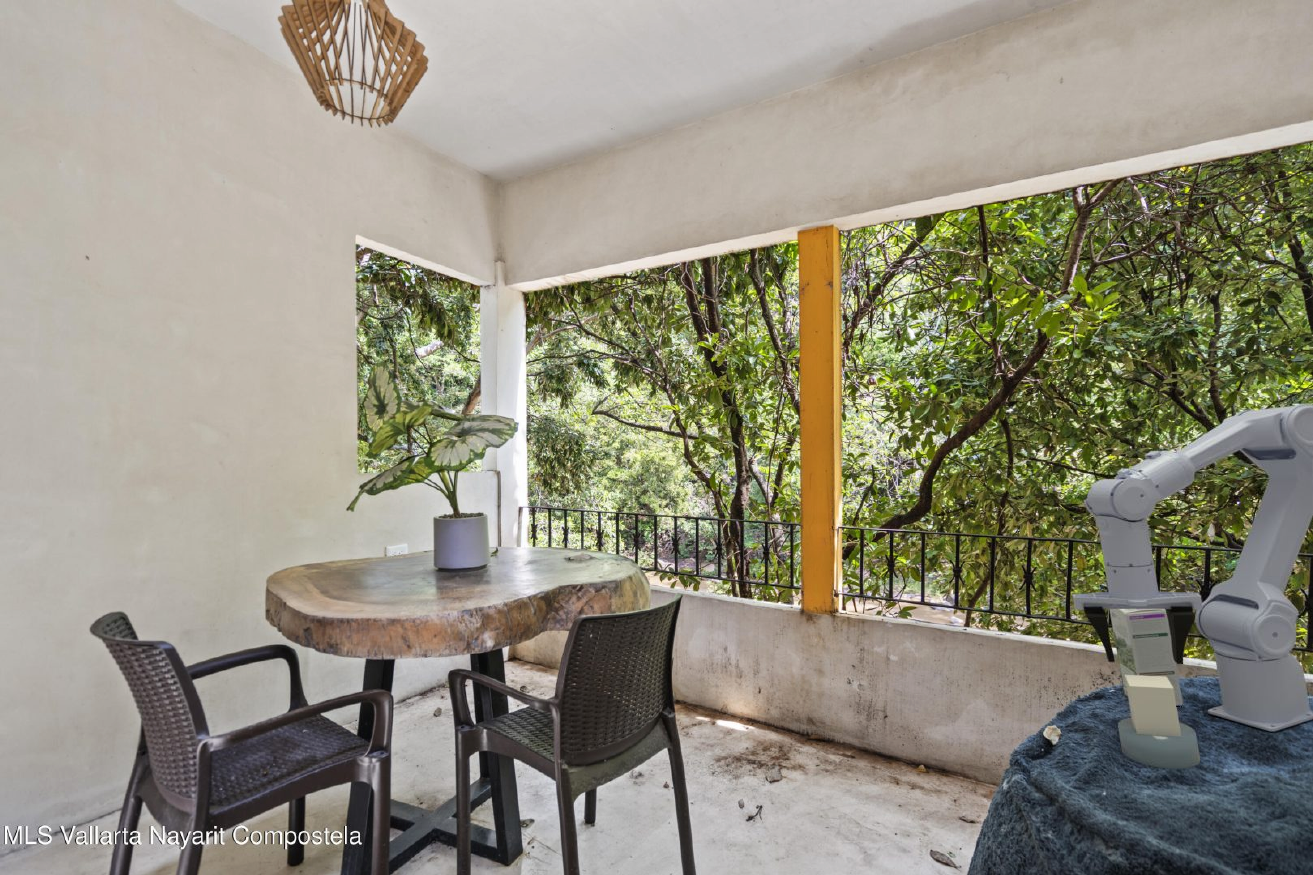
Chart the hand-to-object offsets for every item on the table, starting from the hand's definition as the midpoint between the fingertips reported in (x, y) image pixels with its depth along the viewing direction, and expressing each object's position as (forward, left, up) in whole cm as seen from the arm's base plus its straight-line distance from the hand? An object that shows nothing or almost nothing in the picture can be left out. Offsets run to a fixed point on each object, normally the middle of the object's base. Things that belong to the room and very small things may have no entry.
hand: (1144, 661), depth 90 cm
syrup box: (-9, -7, -10) cm, 15 cm away
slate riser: (+6, +5, -10) cm, 13 cm away
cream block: (+6, +5, -6) cm, 10 cm away
